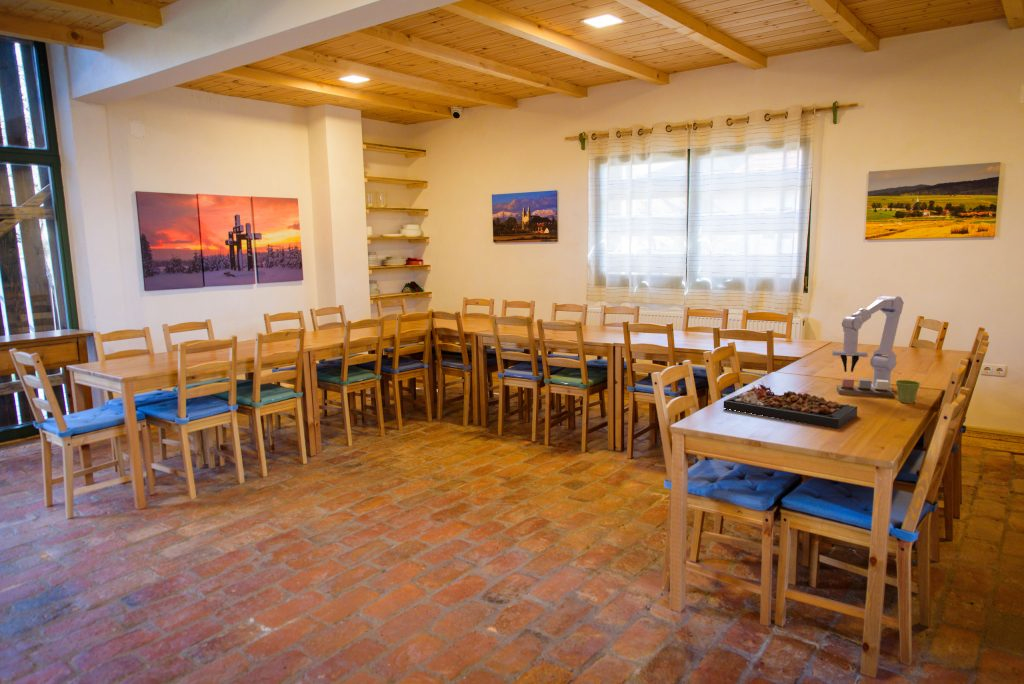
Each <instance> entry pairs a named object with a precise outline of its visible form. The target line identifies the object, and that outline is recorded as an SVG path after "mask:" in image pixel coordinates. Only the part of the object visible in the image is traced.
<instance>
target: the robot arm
mask: <svg viewBox="0 0 1024 684" xmlns="http://www.w3.org/2000/svg"><path fill="white" fill-rule="evenodd" d="M904 304H905V303H904V301H903V299H902V297H901V296H900V295H899V296H895V295H894V296H893V295H883V294H881V295H878V297H876V298H875V300H874V301H873V302H872V303H871V304H870V305H869V306H868V307H866V308H865V307H863V308H858V310H857V311H856V312H854V313H852V315H850V316H845V317H844V318H843V319H842V322H841V327H842V329H843V330H842V331H843V347H842V350H832V352H831V356H833V357H834V356H837V357H838V356H839V357H840V359H841V362H842V365H843V370H844V372H845V373H846V372H848V370H847V369H848V368H847V365H848V364H847V363H848V357H851V367H850V373H853V372H854V369H855V366H856V365H857V363H858V361H859V359H860V358H861V357H863V358H869V353H868V352H863V351H858V344H859V343H858V340H859V330H860V329H861V328H862V326H863V325H864V323H866V322H867V321H868V320H870V319H871V318H872V315H873V314H875V313H876V312H878V311H881V312H882V314H885V316H886V318H885V321H884V322H885V323H884V325H883V329H882V334H881V335H882V336H881V339H880V343H879V347H878V349H876V350H874V351H873V353H872V356H871V357H870V359H869V364H870V366H871V368H872V369H873V373H872V374H873V375H872V383H871V387H874V388H876V379H877V380H888V381H889V388H890V389H891V391H893V388H892V386H891V377H892V371H893V370H894V369H895V368H896V365H897V354H896V353H895V352H894V351H893V348H894V342H895V339H896V335H897V330H898V325H899V322H900V318H901V314H902V311H903V307H904Z"/></svg>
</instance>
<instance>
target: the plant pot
mask: <svg viewBox="0 0 1024 684" xmlns="http://www.w3.org/2000/svg"><path fill="white" fill-rule="evenodd" d="M895 383H896V384H895V385H896V391H897V401H898V402H900V403H902V402H903V403H905V404H913V403H915V402H916V397H917V393H918V390H919V388H920V386H921V384H922V383H921V382H919V381H917V380H910V379H909V380H907V379H898V380H895Z"/></svg>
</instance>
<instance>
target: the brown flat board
mask: <svg viewBox="0 0 1024 684" xmlns="http://www.w3.org/2000/svg"><path fill="white" fill-rule="evenodd" d="M836 392H837V393H838V395H843V396H856V397H857V396H859V397H874V398H886V399H894V397H895V393H894V392H893V390H891V389H890V388H889V390H886V389H877V388H874V387H872V386H871V389H870V388H859V386H855V385H854V387H842V384H841V385H839V384H836Z"/></svg>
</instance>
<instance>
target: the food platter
mask: <svg viewBox="0 0 1024 684" xmlns="http://www.w3.org/2000/svg"><path fill="white" fill-rule="evenodd" d="M761 383H762V384H760V383H758V387H756V386H755V385H754V384H752V386H751V388H750V389H749V390H746V391H743V392H742V393H740V394H737V395H735V396H732V397H729V398H727V399H725V400H723V408H726V409H731V410H736V411H740V412H739V413H741V412H746V413H745V414H747V413H752V414H756V415H755V416H758V415H763V416H762V417H764V416H768V417H767V418H770V417H774V418H773V419H776V418H779V419H778V420H782V419H784V420H783V421H787V420H789V421H790V422H793V421H795V422H796V423H799V422H800V423H801V424H805V423H806V425H811V424H812V425H811V426H818V427H823V426H824V428H828V427H830V428H829V429H834V430H835V429H836V430H839V429H841V428H842V427H843V426H844V425H846V424H847V422H848V423H849V422H850V421H852V420H853V419H855V418H857V416H858V406H855V405H850V404H841V403H839V402H838V401H832V400H828V401H827V400H826V399H825V397H822V396H821V397H819V396H817V395H811V394H809V393H806V392H805V393H800V392H798V393H796V391H795V392H794V391H791V390H787V392H785V391H784V392H783V394H781V395H779V394H775V393H774V392H773V391H772V389H771V387H769V386H768V387H767V386H765V385H764V383H763V381H761ZM752 414H751V415H752ZM789 421H788V422H789Z"/></svg>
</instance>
